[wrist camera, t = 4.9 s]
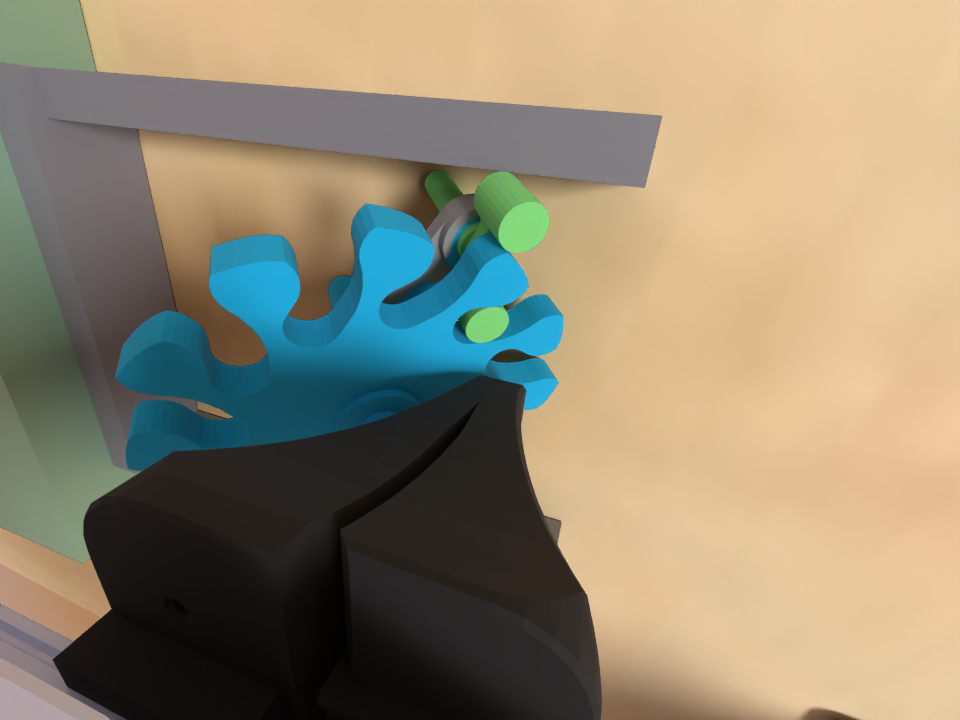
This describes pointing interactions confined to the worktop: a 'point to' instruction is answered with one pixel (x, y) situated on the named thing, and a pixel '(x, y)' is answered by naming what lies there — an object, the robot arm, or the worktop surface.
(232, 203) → the worktop surface
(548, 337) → the gear
